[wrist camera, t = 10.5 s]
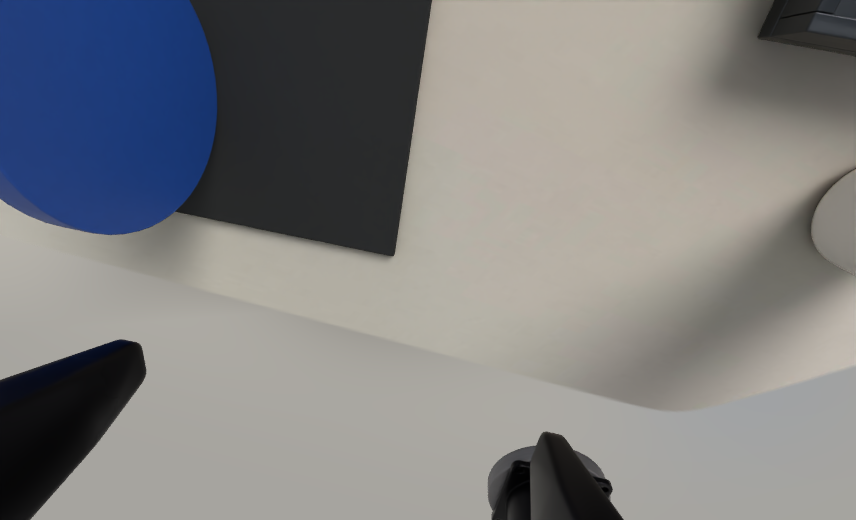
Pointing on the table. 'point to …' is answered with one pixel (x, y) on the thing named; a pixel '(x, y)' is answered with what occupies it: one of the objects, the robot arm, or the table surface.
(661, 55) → the table surface
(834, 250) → the drinking glass
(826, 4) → the rack
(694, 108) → the table surface
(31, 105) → the plate
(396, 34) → the mat
